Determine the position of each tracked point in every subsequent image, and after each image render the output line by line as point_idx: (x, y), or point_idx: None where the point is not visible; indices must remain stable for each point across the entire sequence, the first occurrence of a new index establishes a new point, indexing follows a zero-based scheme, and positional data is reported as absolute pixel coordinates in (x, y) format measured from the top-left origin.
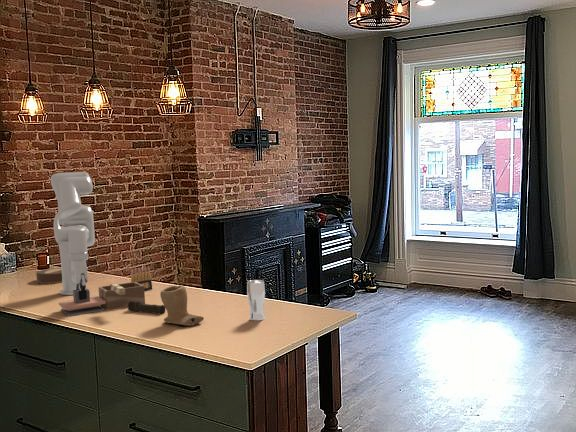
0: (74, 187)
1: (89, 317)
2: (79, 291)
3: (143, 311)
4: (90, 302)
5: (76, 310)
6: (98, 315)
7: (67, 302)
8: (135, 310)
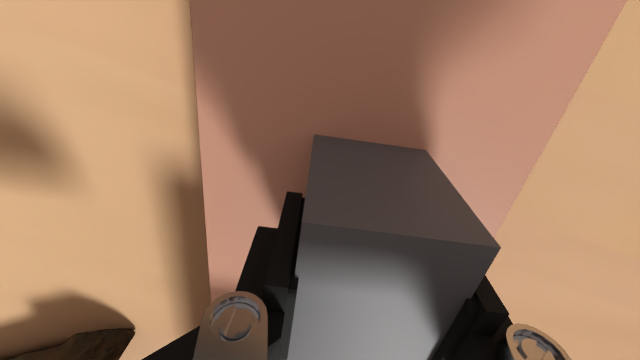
0: None
1: (52, 113)
2: (266, 282)
3: (30, 352)
4: (244, 245)
5: None
6: (90, 185)
7: (466, 77)
8: (67, 341)
